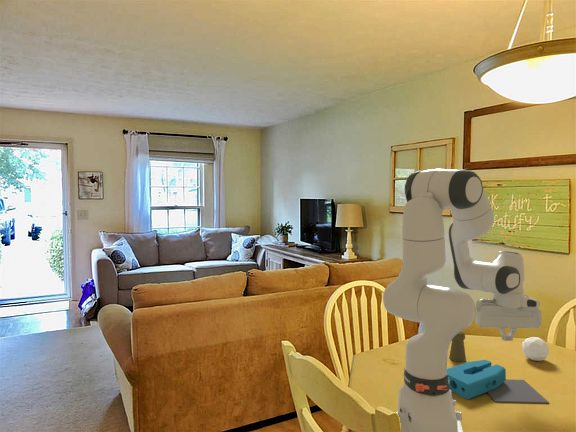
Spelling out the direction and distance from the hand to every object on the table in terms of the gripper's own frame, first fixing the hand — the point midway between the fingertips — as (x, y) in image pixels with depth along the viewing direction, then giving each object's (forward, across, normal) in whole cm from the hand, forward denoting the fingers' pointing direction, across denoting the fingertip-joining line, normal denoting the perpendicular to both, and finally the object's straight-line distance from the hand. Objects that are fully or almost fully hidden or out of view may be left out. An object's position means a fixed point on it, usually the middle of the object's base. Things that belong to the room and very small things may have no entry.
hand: (507, 340), depth 135 cm
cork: (+15, -9, +21) cm, 28 cm away
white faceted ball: (+15, +21, +23) cm, 35 cm away
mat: (+15, -1, -4) cm, 16 cm away
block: (+12, -2, +4) cm, 13 cm away
